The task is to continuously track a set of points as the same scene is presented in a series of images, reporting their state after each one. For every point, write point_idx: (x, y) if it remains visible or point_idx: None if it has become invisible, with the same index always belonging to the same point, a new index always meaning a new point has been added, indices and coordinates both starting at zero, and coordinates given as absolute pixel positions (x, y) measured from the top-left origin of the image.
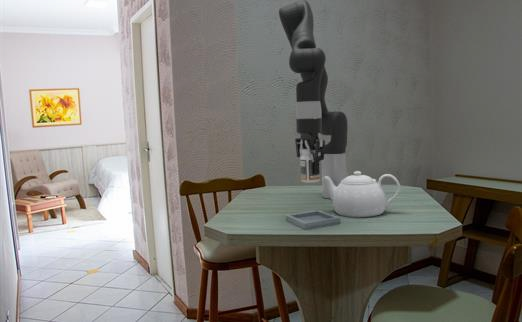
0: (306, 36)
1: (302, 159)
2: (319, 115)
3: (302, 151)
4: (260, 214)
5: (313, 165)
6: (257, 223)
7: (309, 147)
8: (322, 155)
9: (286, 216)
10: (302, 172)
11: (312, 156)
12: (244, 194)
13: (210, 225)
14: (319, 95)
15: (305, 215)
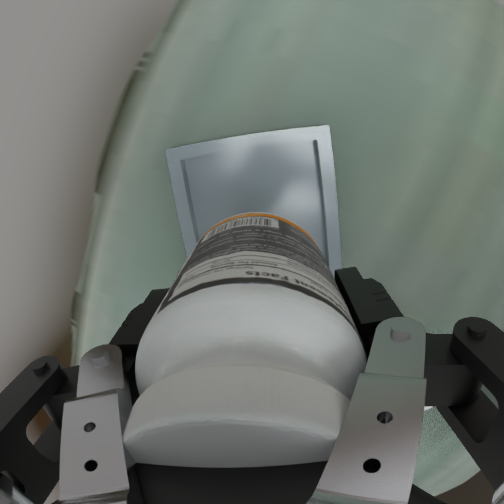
0: None
1: (205, 293)
2: None
3: (216, 386)
4: (451, 85)
5: (132, 334)
6: (329, 21)
7: (65, 468)
8: (46, 431)
9: (321, 126)
10: (230, 232)
11: (84, 384)
12: None
13: None
14: None
15: (323, 210)
